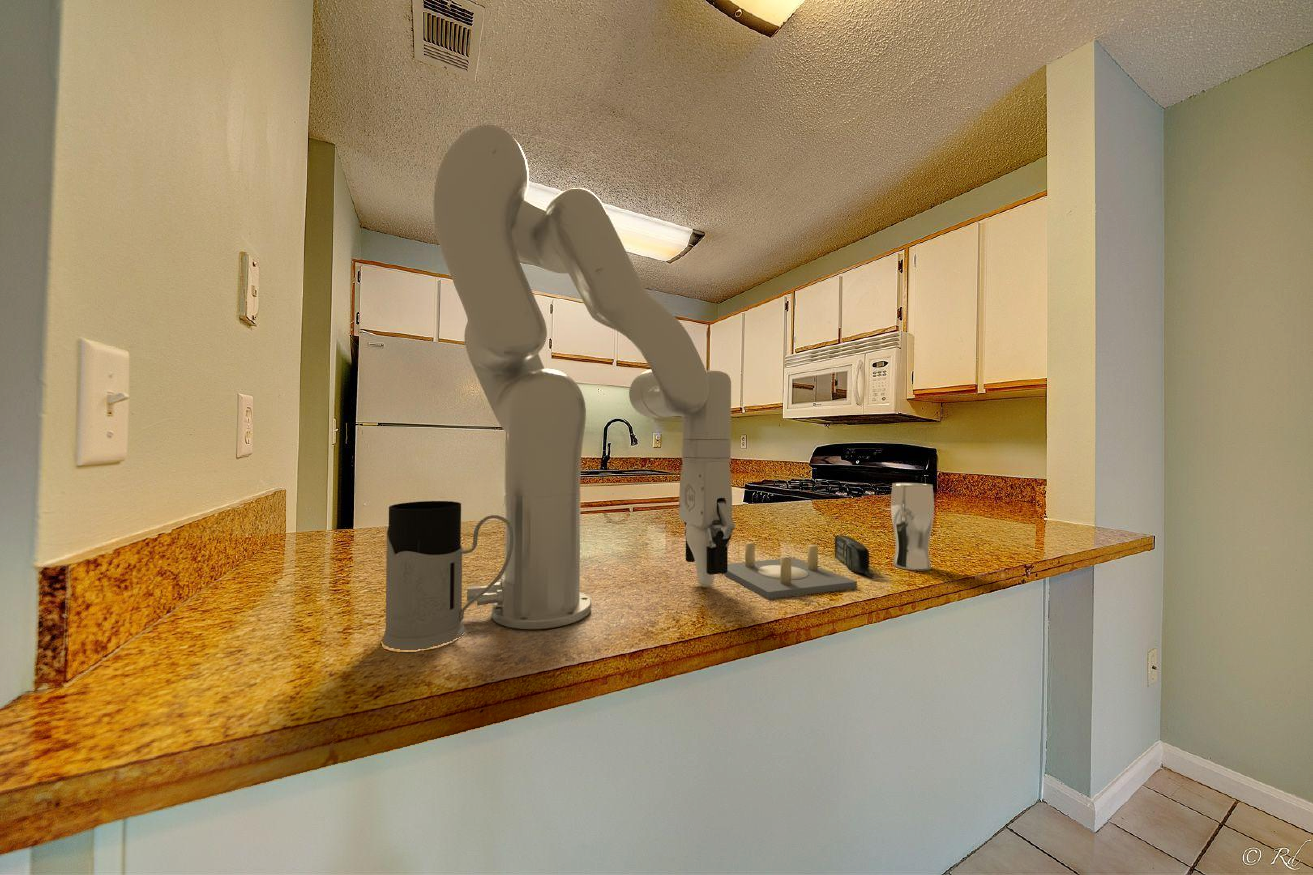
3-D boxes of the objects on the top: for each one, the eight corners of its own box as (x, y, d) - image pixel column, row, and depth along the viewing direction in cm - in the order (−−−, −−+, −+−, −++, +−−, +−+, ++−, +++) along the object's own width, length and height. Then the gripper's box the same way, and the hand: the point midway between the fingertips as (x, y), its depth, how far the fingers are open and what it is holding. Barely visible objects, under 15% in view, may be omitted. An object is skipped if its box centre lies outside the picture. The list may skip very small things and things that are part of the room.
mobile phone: (831, 533, 95) (859, 548, 80) (847, 533, 94) (877, 548, 80) (831, 558, 95) (859, 578, 80) (847, 559, 94) (878, 579, 79)
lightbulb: (727, 593, 71) (728, 519, 71) (686, 593, 71) (687, 518, 71) (722, 581, 77) (723, 513, 77) (684, 581, 77) (685, 512, 77)
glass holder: (401, 622, 59) (402, 500, 59) (519, 619, 60) (520, 499, 60) (364, 654, 50) (366, 510, 50) (504, 649, 52) (505, 509, 52)
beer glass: (882, 564, 89) (882, 483, 89) (907, 560, 92) (908, 482, 92) (916, 573, 83) (916, 486, 83) (942, 569, 86) (943, 485, 86)
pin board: (767, 598, 69) (768, 564, 69) (716, 570, 84) (716, 541, 84) (856, 588, 74) (857, 555, 74) (793, 563, 89) (793, 536, 89)
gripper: (663, 450, 81) (662, 556, 81) (709, 453, 65) (708, 585, 65) (703, 450, 84) (703, 552, 84) (757, 453, 68) (757, 580, 67)
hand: (705, 566), depth 74 cm, fingers open, 6 cm apart
